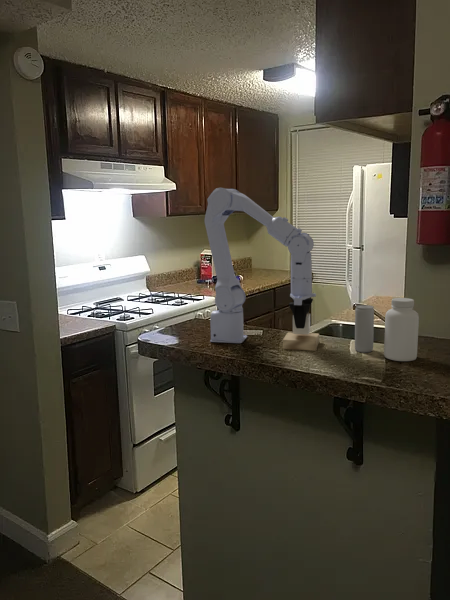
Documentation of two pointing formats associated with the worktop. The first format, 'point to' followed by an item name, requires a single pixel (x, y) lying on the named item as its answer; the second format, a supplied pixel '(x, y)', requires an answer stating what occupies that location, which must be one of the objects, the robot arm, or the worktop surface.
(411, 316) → the pill bottle
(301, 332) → the box
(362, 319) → the beverage can
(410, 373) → the worktop surface
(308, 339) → the maple block
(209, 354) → the worktop surface
